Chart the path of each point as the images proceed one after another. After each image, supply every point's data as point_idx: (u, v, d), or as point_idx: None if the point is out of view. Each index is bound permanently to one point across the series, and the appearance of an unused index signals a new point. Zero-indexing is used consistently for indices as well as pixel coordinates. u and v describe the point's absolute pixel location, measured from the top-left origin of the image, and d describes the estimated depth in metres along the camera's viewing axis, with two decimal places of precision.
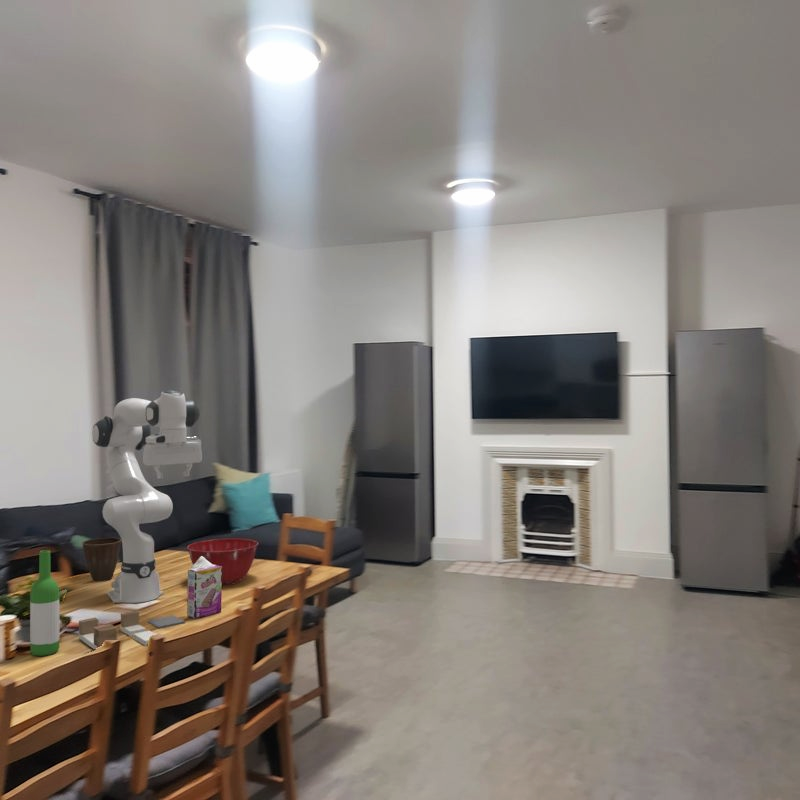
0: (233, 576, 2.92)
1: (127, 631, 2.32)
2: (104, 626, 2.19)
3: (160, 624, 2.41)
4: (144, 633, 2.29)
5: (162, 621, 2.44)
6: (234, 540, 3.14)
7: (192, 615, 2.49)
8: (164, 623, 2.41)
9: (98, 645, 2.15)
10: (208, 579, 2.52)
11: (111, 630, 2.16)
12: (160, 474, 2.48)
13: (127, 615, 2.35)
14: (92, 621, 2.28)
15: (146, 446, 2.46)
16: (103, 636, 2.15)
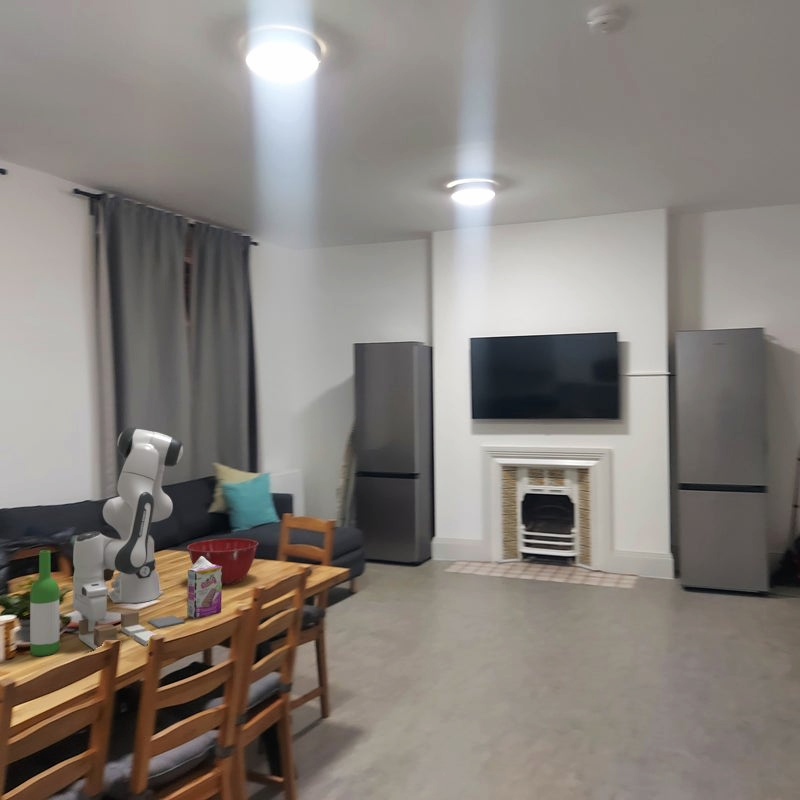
0: (233, 576, 2.92)
1: (127, 631, 2.32)
2: (104, 626, 2.19)
3: (160, 624, 2.41)
4: (144, 633, 2.29)
5: (162, 621, 2.44)
6: (234, 540, 3.14)
7: (192, 615, 2.49)
8: (164, 623, 2.41)
9: (98, 645, 2.15)
10: (208, 579, 2.52)
11: (111, 630, 2.16)
12: None
13: (127, 615, 2.35)
14: None
15: (96, 600, 2.21)
16: (103, 636, 2.15)
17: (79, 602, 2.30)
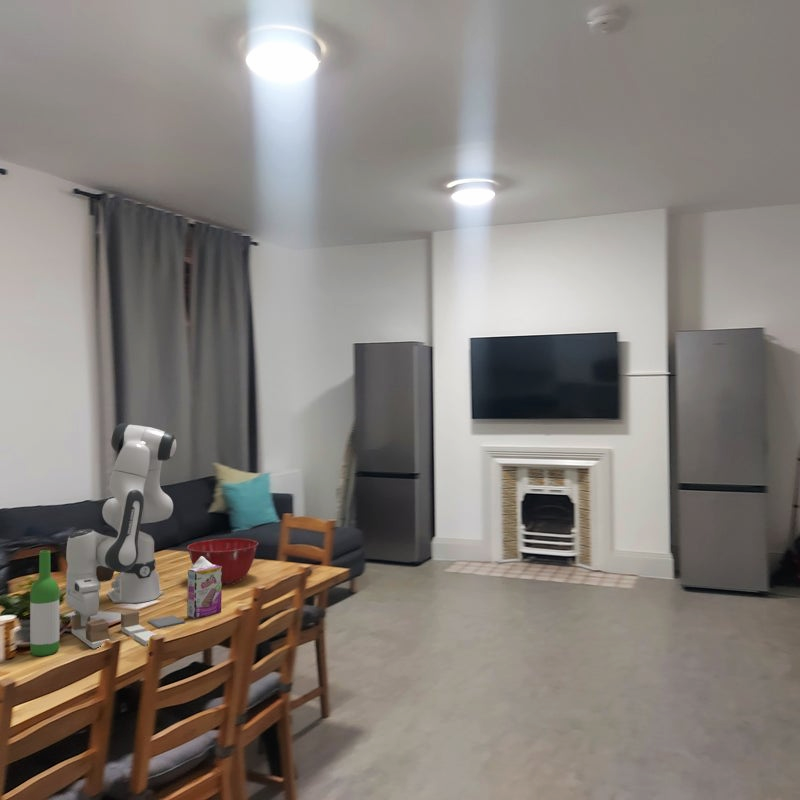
0: (233, 576, 2.92)
1: (127, 631, 2.32)
2: (96, 621, 2.24)
3: (160, 624, 2.41)
4: (144, 633, 2.29)
5: (162, 621, 2.44)
6: (234, 540, 3.14)
7: (192, 615, 2.49)
8: (164, 623, 2.41)
9: (90, 639, 2.20)
10: (208, 579, 2.52)
11: (103, 624, 2.22)
12: None
13: (127, 615, 2.35)
14: None
15: (89, 595, 2.26)
16: (95, 631, 2.20)
17: (72, 598, 2.35)
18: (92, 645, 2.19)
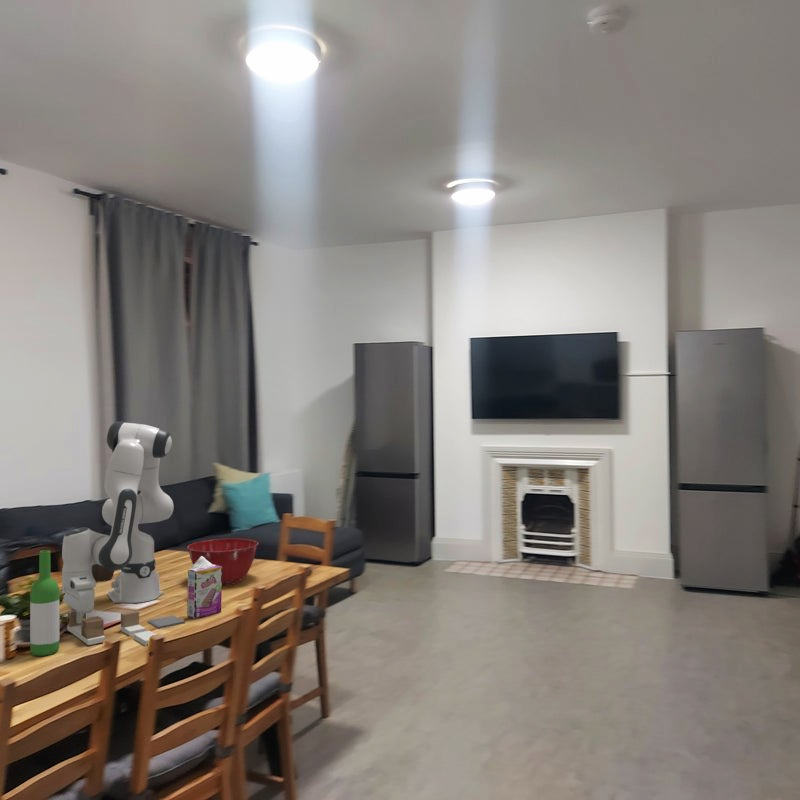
0: (233, 576, 2.92)
1: (127, 631, 2.32)
2: (91, 618, 2.27)
3: (160, 624, 2.41)
4: (144, 633, 2.29)
5: (162, 621, 2.44)
6: (234, 540, 3.14)
7: (192, 615, 2.49)
8: (164, 623, 2.41)
9: (85, 636, 2.23)
10: (208, 579, 2.52)
11: (98, 621, 2.25)
12: None
13: (127, 615, 2.35)
14: None
15: (84, 593, 2.29)
16: (90, 628, 2.23)
17: (68, 595, 2.38)
18: (87, 642, 2.22)
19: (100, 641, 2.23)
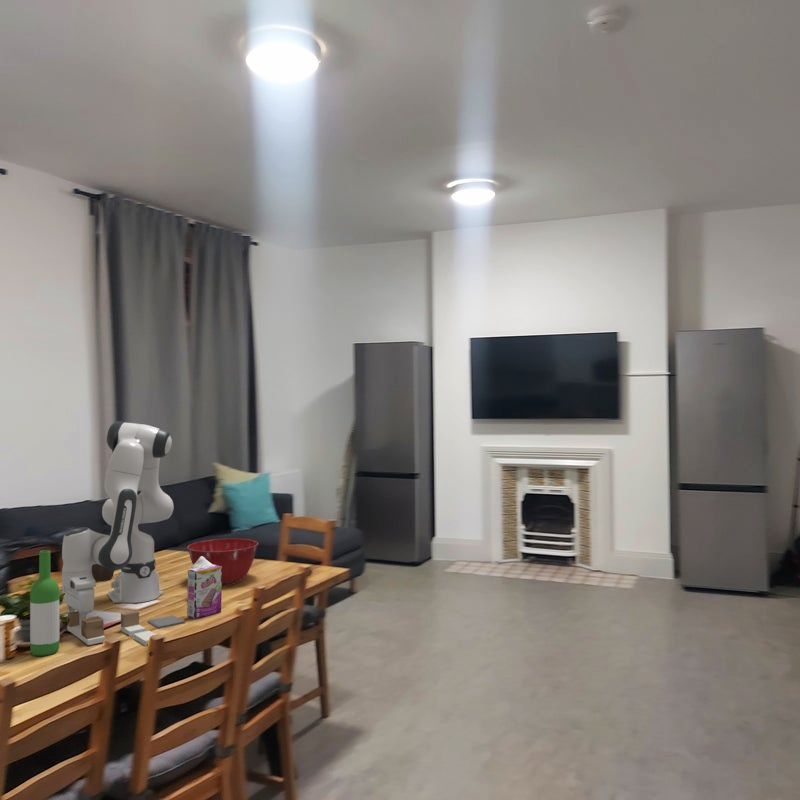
0: (233, 576, 2.92)
1: (127, 631, 2.32)
2: (91, 618, 2.27)
3: (160, 624, 2.41)
4: (144, 633, 2.29)
5: (162, 621, 2.44)
6: (234, 540, 3.14)
7: (192, 615, 2.49)
8: (164, 623, 2.41)
9: (85, 636, 2.23)
10: (208, 579, 2.52)
11: (98, 621, 2.25)
12: None
13: (127, 615, 2.35)
14: None
15: (84, 593, 2.29)
16: (90, 628, 2.23)
17: (68, 595, 2.38)
18: (87, 642, 2.22)
19: (100, 641, 2.23)
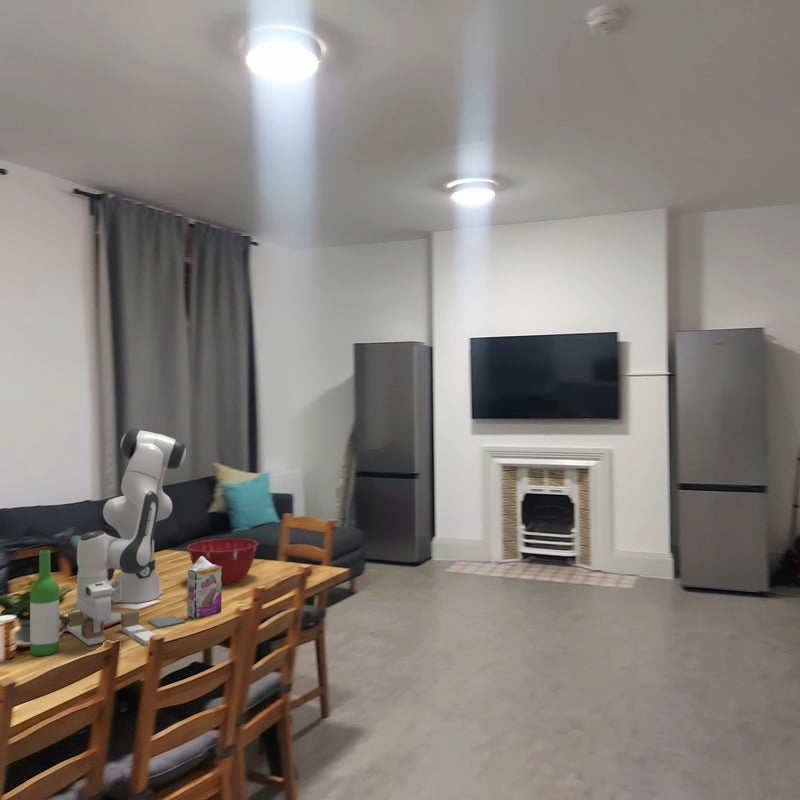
0: (233, 576, 2.92)
1: (127, 631, 2.32)
2: (91, 618, 2.27)
3: (160, 624, 2.41)
4: (144, 633, 2.29)
5: (162, 621, 2.44)
6: (234, 540, 3.14)
7: (192, 615, 2.49)
8: (164, 623, 2.41)
9: (85, 636, 2.23)
10: (208, 579, 2.52)
11: None
12: None
13: (127, 615, 2.35)
14: (80, 613, 2.36)
15: (100, 600, 2.19)
16: (90, 628, 2.23)
17: (83, 602, 2.27)
18: (87, 642, 2.22)
19: (100, 641, 2.23)
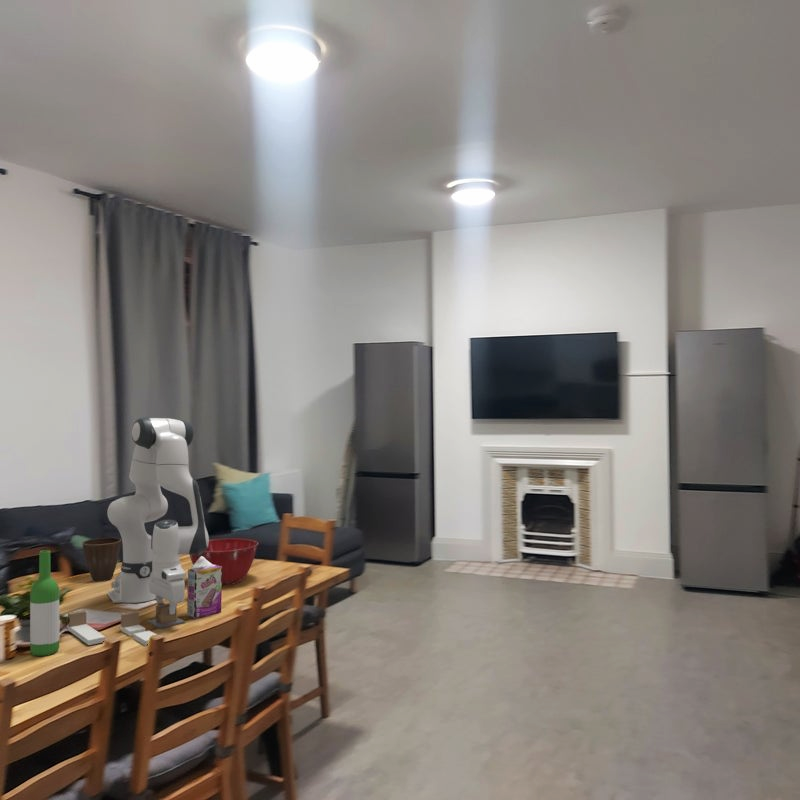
0: (233, 576, 2.92)
1: (127, 631, 2.32)
2: (165, 605, 2.46)
3: (160, 624, 2.41)
4: (144, 633, 2.29)
5: None
6: (234, 540, 3.14)
7: (192, 615, 2.49)
8: None
9: (160, 621, 2.42)
10: (208, 579, 2.52)
11: None
12: None
13: (127, 615, 2.35)
14: (80, 613, 2.36)
15: (175, 583, 2.37)
16: (165, 613, 2.42)
17: (157, 586, 2.46)
18: (87, 642, 2.22)
19: (100, 641, 2.23)
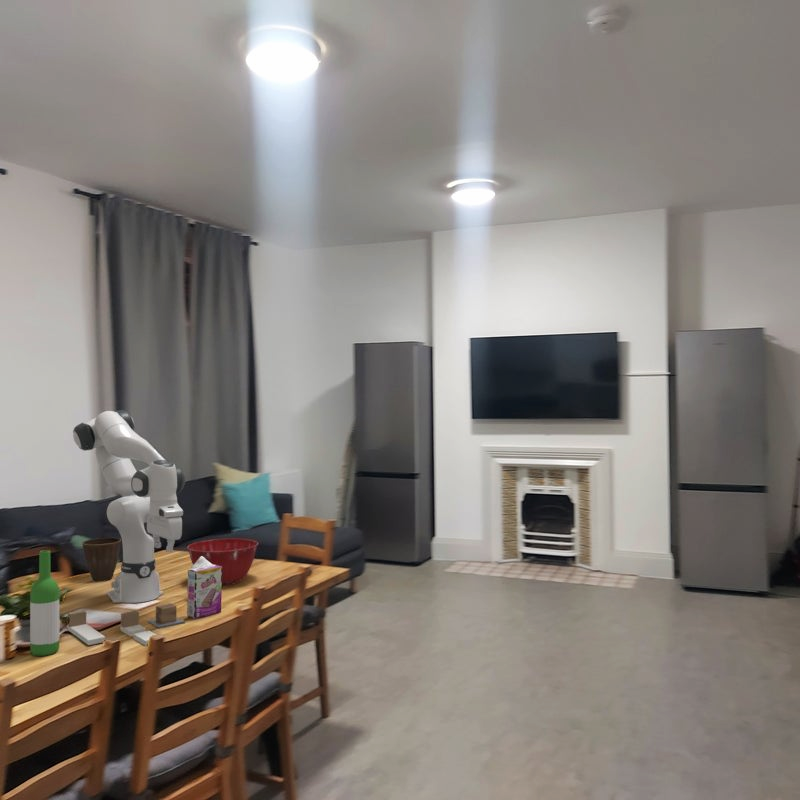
0: (233, 576, 2.92)
1: (127, 631, 2.32)
2: (165, 605, 2.46)
3: (160, 624, 2.41)
4: (144, 633, 2.29)
5: None
6: (234, 540, 3.14)
7: (192, 615, 2.49)
8: None
9: (160, 621, 2.42)
10: (208, 579, 2.52)
11: (172, 608, 2.43)
12: None
13: (127, 615, 2.35)
14: (80, 613, 2.36)
15: (173, 520, 2.39)
16: (165, 613, 2.42)
17: (154, 525, 2.47)
18: (87, 642, 2.22)
19: (100, 641, 2.23)
